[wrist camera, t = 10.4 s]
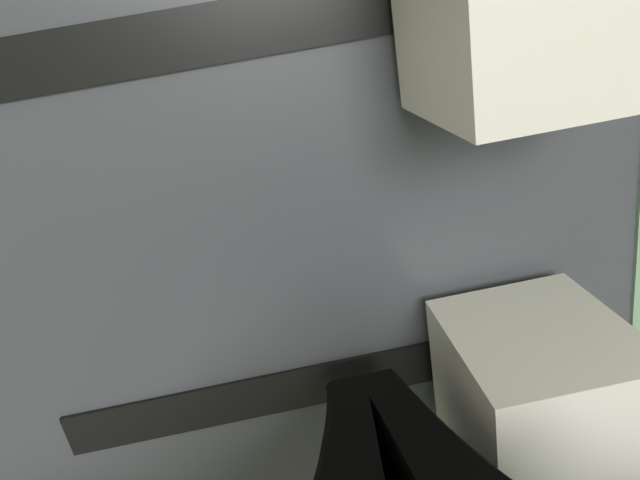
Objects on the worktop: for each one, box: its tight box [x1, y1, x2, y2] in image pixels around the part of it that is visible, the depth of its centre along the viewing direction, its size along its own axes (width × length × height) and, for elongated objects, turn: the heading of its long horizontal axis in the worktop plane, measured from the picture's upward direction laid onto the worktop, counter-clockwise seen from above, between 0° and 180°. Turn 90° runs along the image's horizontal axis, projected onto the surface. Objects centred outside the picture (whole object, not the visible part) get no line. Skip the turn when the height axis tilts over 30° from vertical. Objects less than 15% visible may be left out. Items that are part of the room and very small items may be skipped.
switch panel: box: [0, 0, 640, 480], centre depth 13 cm, size 22×19×2 cm
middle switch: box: [425, 273, 640, 480], centre depth 10 cm, size 4×3×4 cm
